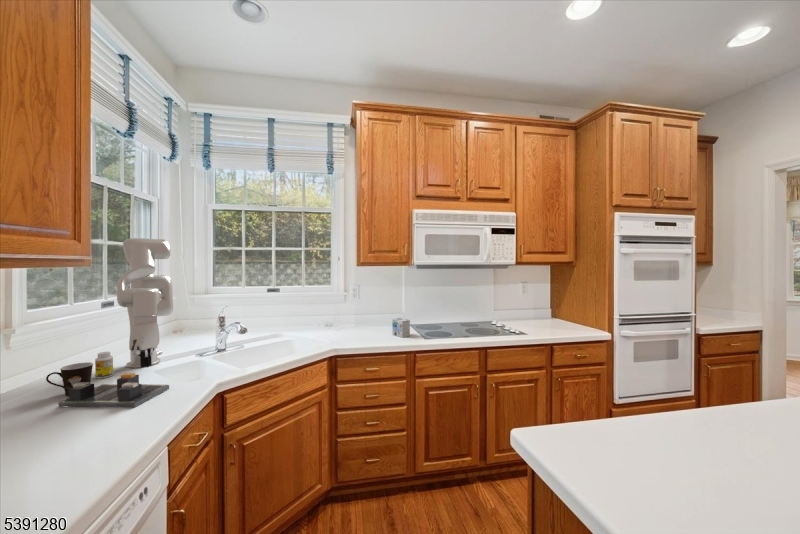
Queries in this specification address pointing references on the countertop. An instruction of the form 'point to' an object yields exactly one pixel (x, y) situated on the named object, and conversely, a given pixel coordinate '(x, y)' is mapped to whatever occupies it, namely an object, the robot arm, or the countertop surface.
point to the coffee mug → (73, 375)
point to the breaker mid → (127, 379)
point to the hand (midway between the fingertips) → (146, 366)
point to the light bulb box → (401, 327)
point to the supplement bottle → (104, 365)
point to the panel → (111, 394)
